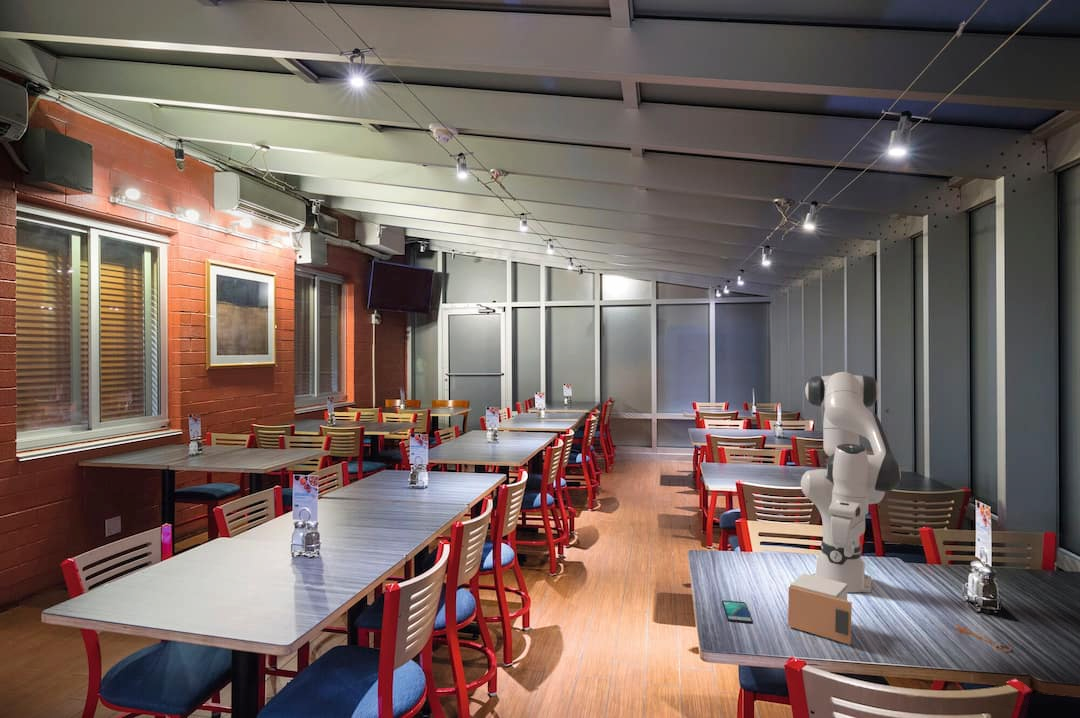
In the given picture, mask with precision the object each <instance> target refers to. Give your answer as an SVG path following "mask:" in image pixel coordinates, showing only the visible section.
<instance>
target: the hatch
mask: <svg viewBox="0 0 1080 718" xmlns="http://www.w3.org/2000/svg"><path fill="white" fill-rule="evenodd" d="M852 607H853V605H852V601H849V600H847V601H845V600H841V599H838V598H834V597H830V596H826V595H822V594H818V593H814V592H810V591H806V590H802V589H799V588H795V587H791V586H790V585H789V587H788V609H787V611H788V613H787V615H788V616H787V617H788V618H787V626H788V627H790V628H794V629H797V630H800V631H802V632H808V633H810V634H814V635H817V636H820V637H824V638H827V639H830V640H834V641H837V642H840V643H844V644H847V645H851V643H852V612H853V611H852Z"/></svg>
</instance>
